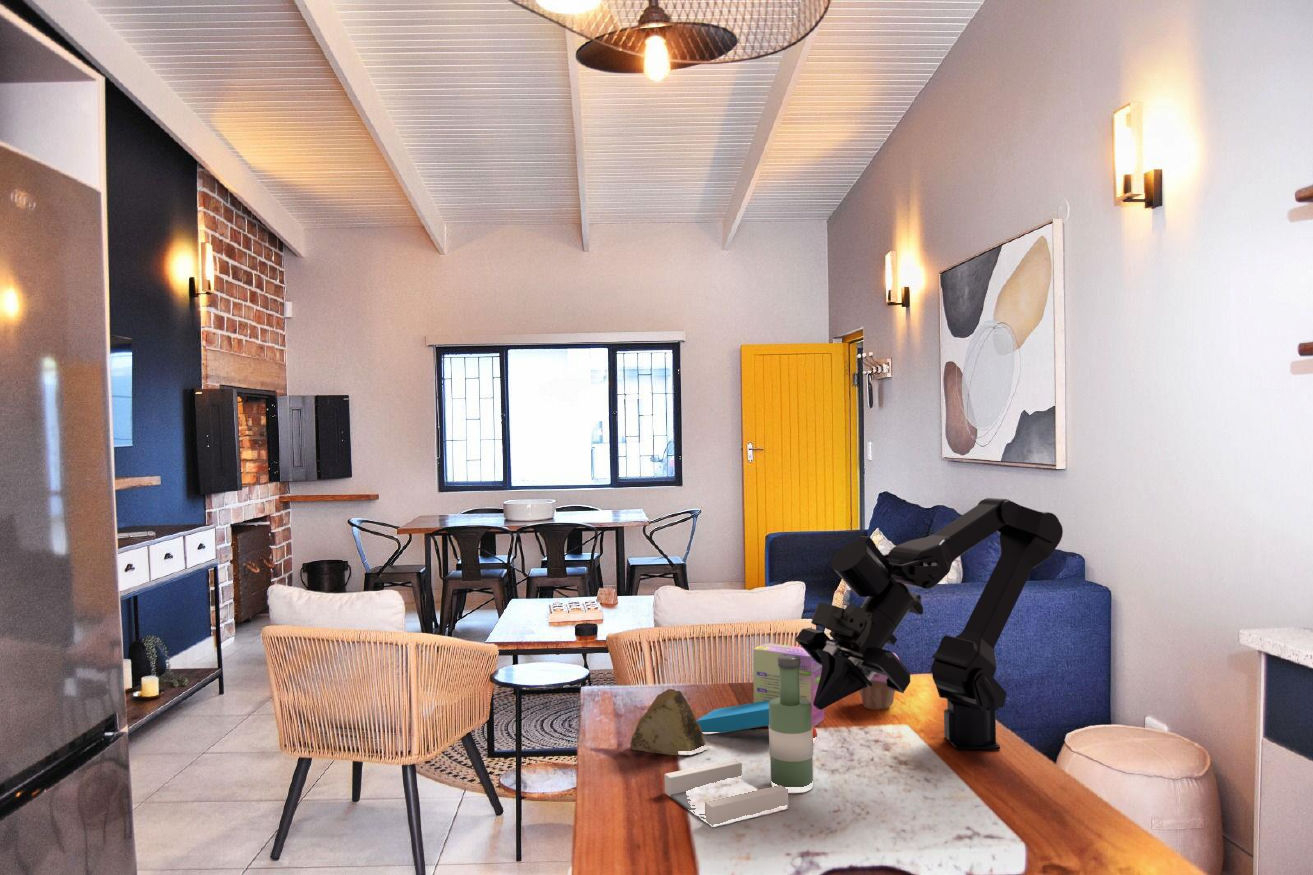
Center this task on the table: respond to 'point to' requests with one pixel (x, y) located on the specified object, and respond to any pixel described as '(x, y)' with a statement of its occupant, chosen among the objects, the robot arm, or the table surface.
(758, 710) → the lever
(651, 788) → the table surface
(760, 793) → the rest
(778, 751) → the bottle
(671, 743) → the rock
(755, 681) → the box
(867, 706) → the cupcake
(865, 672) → the robot arm
